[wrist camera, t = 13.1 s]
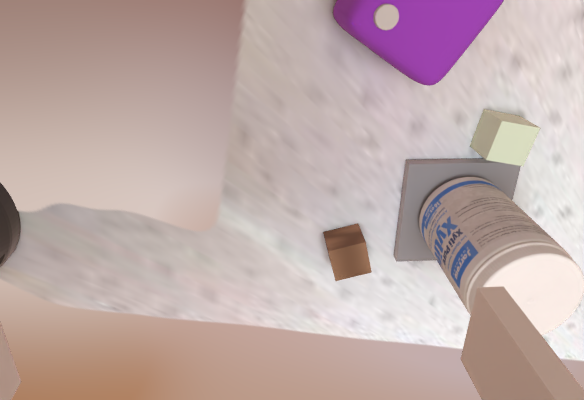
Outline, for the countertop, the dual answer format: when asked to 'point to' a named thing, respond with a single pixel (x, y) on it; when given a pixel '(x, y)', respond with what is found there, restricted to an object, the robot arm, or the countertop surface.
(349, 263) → the walnut block
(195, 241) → the countertop surface
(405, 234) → the slate coaster
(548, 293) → the supplement tub
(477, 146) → the pale green cube
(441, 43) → the toy camera
